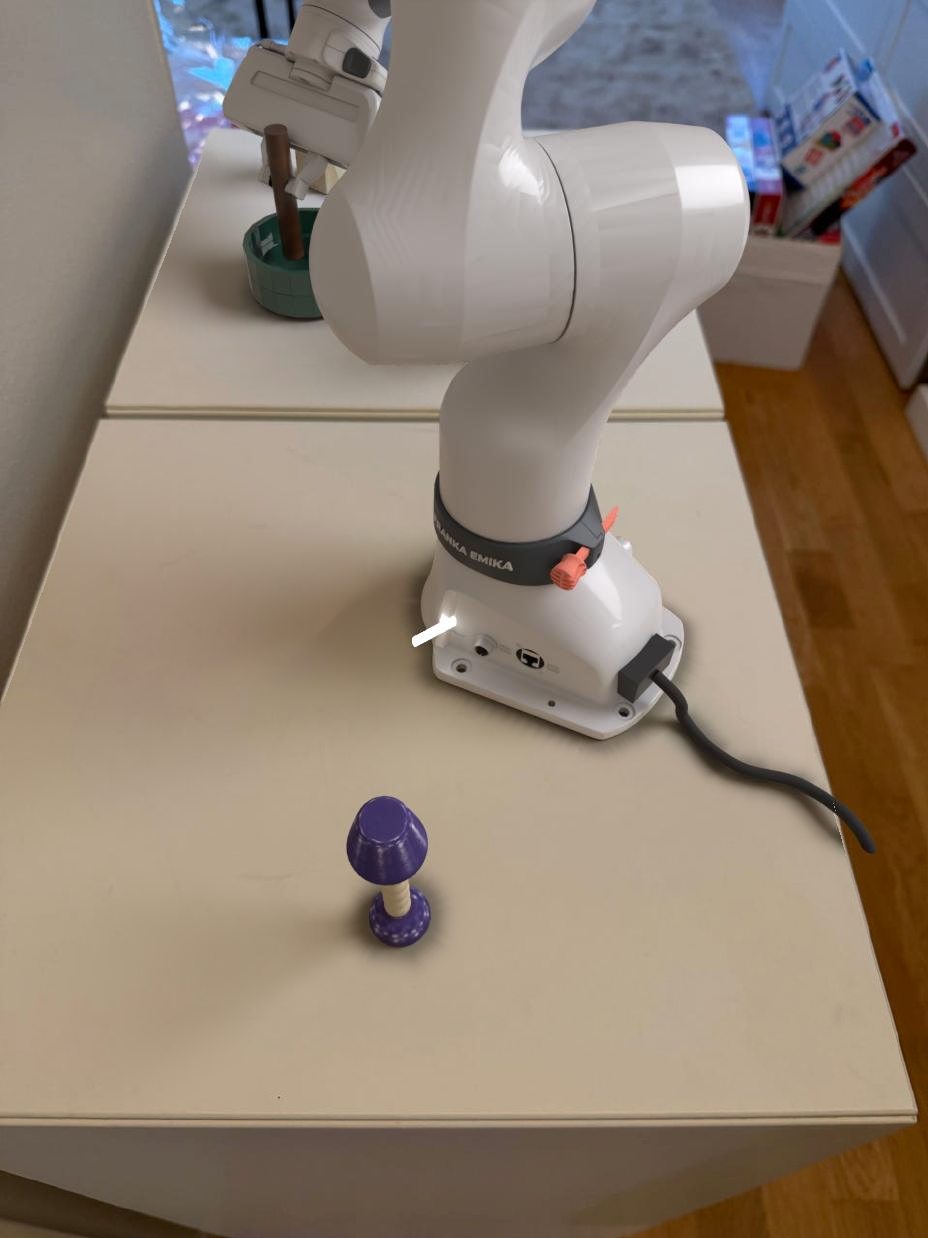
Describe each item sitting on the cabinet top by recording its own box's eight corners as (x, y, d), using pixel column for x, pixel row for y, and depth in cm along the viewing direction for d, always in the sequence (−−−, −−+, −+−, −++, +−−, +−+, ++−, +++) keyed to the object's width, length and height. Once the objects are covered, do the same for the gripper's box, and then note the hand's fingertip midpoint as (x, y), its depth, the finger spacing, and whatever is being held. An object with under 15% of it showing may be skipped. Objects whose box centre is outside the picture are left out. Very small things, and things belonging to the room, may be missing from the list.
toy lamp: (433, 953, 62) (429, 855, 48) (363, 959, 61) (340, 861, 48) (429, 884, 64) (424, 772, 51) (362, 888, 64) (340, 778, 51)
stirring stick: (308, 253, 105) (292, 127, 94) (294, 262, 104) (276, 137, 93) (292, 246, 106) (274, 121, 95) (278, 255, 105) (258, 130, 94)
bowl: (391, 280, 108) (389, 232, 103) (317, 336, 101) (310, 288, 97) (304, 242, 113) (298, 194, 108) (227, 294, 106) (217, 246, 101)
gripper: (237, 17, 96) (190, 149, 99) (392, 70, 89) (337, 210, 92) (272, 49, 102) (227, 173, 105) (421, 101, 95) (368, 232, 98)
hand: (280, 191), depth 99 cm, fingers closed on stirring stick, 2 cm apart
